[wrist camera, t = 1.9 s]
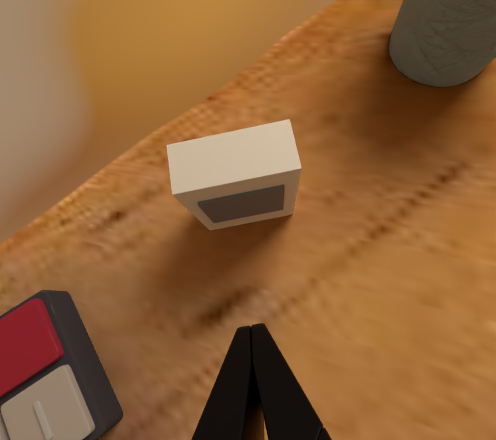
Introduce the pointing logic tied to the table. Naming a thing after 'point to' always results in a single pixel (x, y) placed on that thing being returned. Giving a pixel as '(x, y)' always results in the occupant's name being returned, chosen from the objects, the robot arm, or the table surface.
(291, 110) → the table surface
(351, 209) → the table surface
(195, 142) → the white box grey panel
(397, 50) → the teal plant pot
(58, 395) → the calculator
